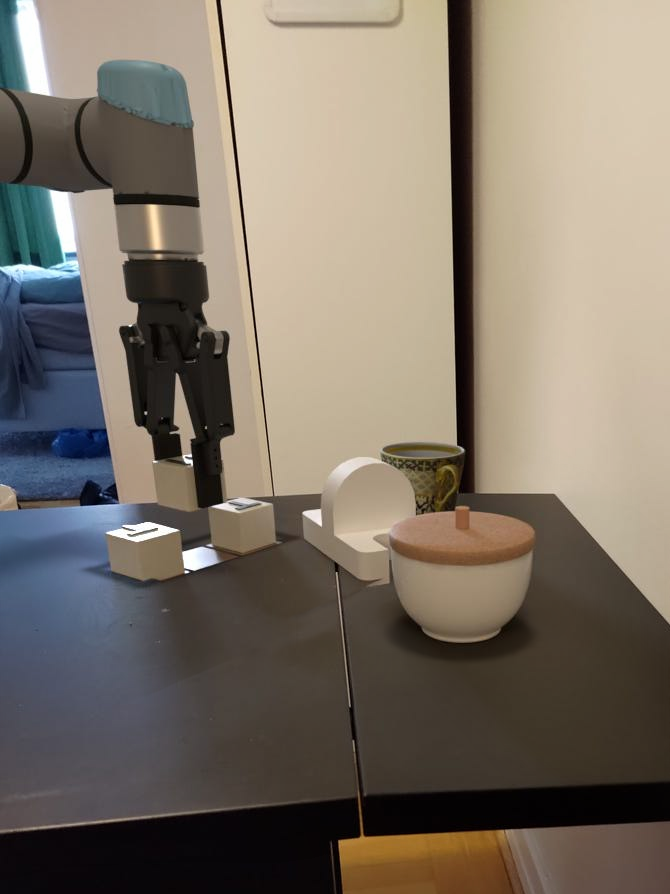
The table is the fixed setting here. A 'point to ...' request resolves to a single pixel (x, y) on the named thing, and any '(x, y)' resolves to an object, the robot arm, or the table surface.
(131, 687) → the table surface
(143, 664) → the table surface
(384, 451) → the ceramic cup
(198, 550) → the word board
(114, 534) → the tile
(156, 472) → the tile middle
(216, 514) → the tile
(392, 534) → the lidded bowl
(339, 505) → the u-slot stand
